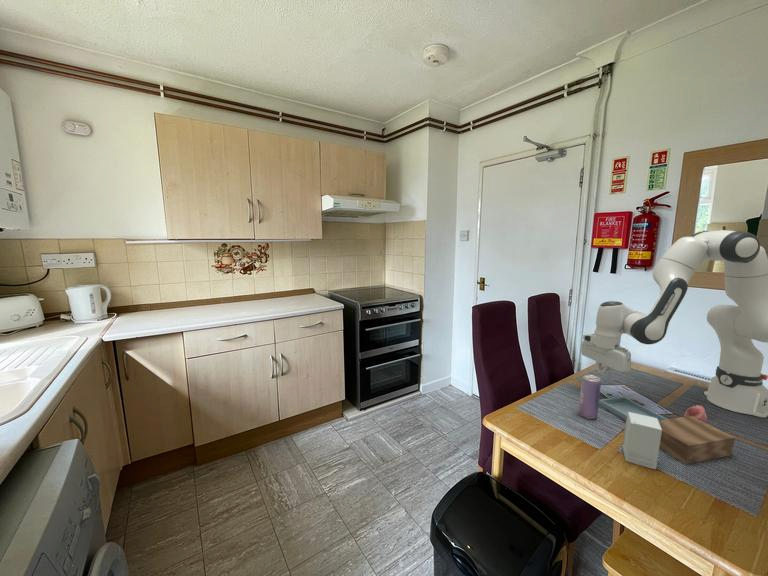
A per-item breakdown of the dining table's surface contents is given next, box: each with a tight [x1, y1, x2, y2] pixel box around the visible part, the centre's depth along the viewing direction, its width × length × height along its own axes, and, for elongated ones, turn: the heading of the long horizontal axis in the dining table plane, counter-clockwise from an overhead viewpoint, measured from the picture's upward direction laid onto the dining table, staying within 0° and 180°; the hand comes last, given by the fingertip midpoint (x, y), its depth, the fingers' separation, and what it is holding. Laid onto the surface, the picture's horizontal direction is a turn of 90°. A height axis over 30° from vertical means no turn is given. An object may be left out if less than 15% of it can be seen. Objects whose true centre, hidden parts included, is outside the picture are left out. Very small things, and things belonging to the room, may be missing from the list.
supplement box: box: [622, 412, 662, 470], centre depth 96 cm, size 7×7×13 cm
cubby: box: [658, 416, 736, 465], centre depth 102 cm, size 18×12×6 cm, turn 102°
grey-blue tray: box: [598, 396, 668, 423], centre depth 119 cm, size 12×19×2 cm, turn 12°
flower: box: [683, 404, 708, 423], centre depth 115 cm, size 8×8×6 cm
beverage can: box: [578, 374, 602, 420], centre depth 119 cm, size 6×6×15 cm
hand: (602, 373), depth 132 cm, fingers closed
